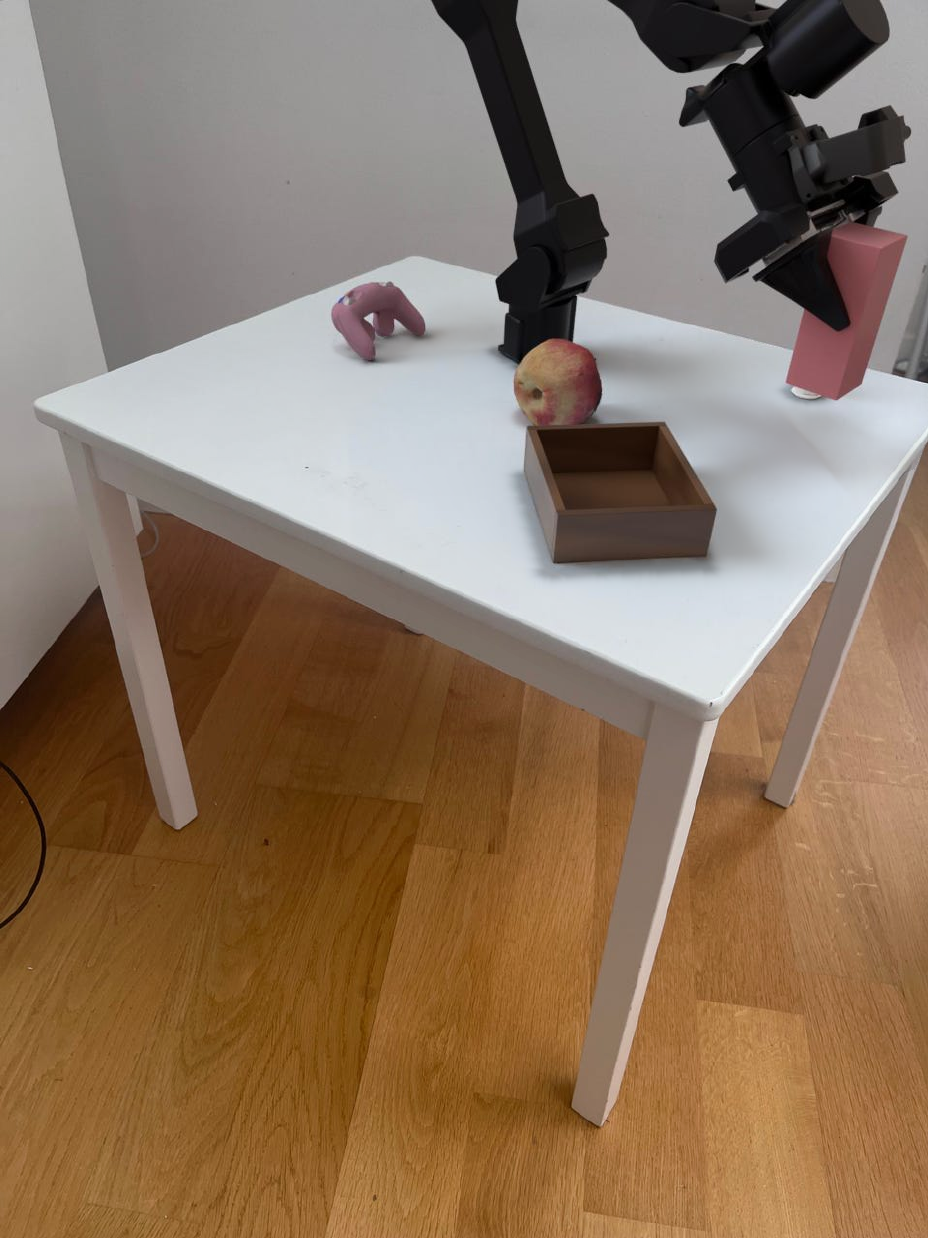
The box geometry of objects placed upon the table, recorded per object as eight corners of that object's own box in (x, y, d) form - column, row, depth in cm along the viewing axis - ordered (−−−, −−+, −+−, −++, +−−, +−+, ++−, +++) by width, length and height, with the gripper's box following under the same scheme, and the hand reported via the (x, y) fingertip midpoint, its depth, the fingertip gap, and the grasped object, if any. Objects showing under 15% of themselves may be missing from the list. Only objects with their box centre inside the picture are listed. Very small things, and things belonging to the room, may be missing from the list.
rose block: (784, 383, 78) (823, 233, 71) (811, 367, 81) (851, 221, 73) (836, 401, 76) (882, 247, 68) (861, 384, 78) (908, 234, 71)
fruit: (502, 412, 88) (506, 328, 83) (580, 405, 89) (589, 322, 84) (527, 452, 82) (533, 364, 77) (610, 443, 83) (621, 357, 78)
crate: (522, 478, 78) (526, 425, 75) (656, 473, 79) (664, 421, 76) (552, 571, 68) (557, 515, 65) (705, 564, 69) (717, 508, 66)
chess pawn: (802, 401, 91) (815, 351, 88) (785, 389, 93) (797, 340, 90) (826, 397, 92) (840, 348, 89) (809, 385, 94) (822, 337, 91)
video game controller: (402, 340, 104) (379, 277, 102) (432, 331, 101) (408, 265, 99) (343, 369, 98) (316, 302, 96) (372, 360, 95) (345, 291, 92)
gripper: (791, 80, 61) (902, 296, 62) (911, 53, 72) (1004, 238, 73) (668, 185, 70) (767, 372, 71) (791, 147, 81) (876, 310, 82)
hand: (858, 320), depth 74 cm, fingers closed on rose block, 4 cm apart
